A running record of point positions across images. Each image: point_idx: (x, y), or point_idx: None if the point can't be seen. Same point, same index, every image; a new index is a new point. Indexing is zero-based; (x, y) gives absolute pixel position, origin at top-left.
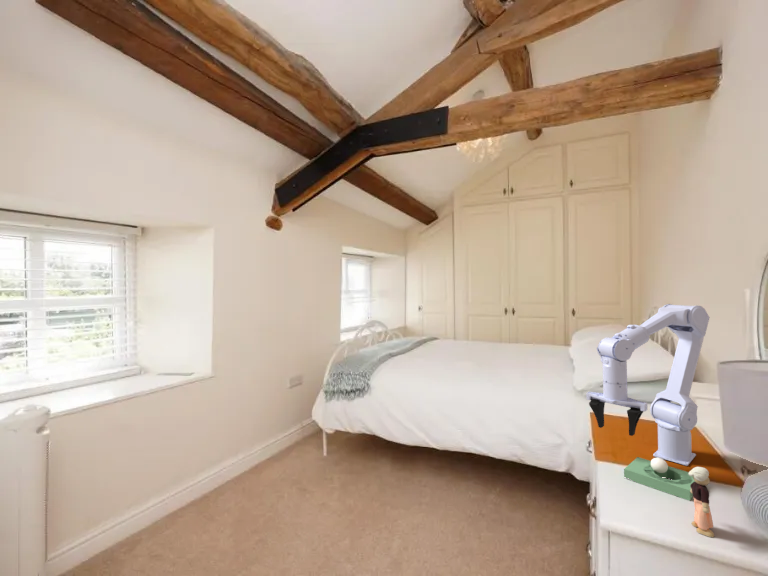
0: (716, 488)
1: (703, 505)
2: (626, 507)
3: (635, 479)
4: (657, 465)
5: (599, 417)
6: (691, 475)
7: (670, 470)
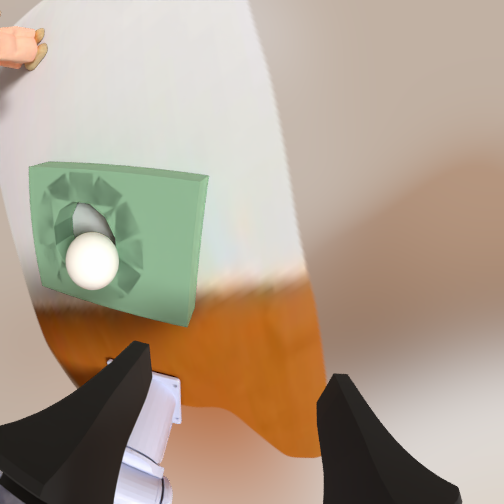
0: None
1: None
2: None
3: (166, 172)
4: (84, 239)
5: (358, 432)
6: None
7: None
